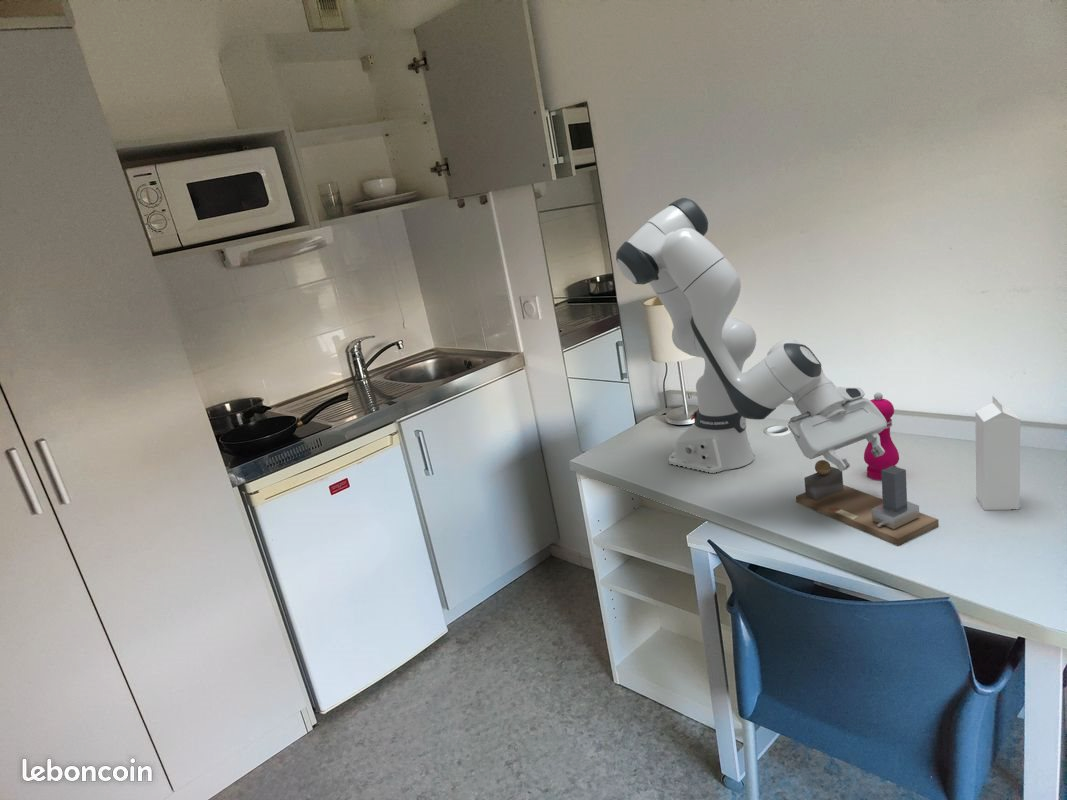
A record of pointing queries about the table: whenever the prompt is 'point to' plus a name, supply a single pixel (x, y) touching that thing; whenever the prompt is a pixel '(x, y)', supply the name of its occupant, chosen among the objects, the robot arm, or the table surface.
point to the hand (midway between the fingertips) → (863, 462)
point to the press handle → (894, 500)
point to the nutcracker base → (855, 506)
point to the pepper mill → (882, 442)
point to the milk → (997, 457)
